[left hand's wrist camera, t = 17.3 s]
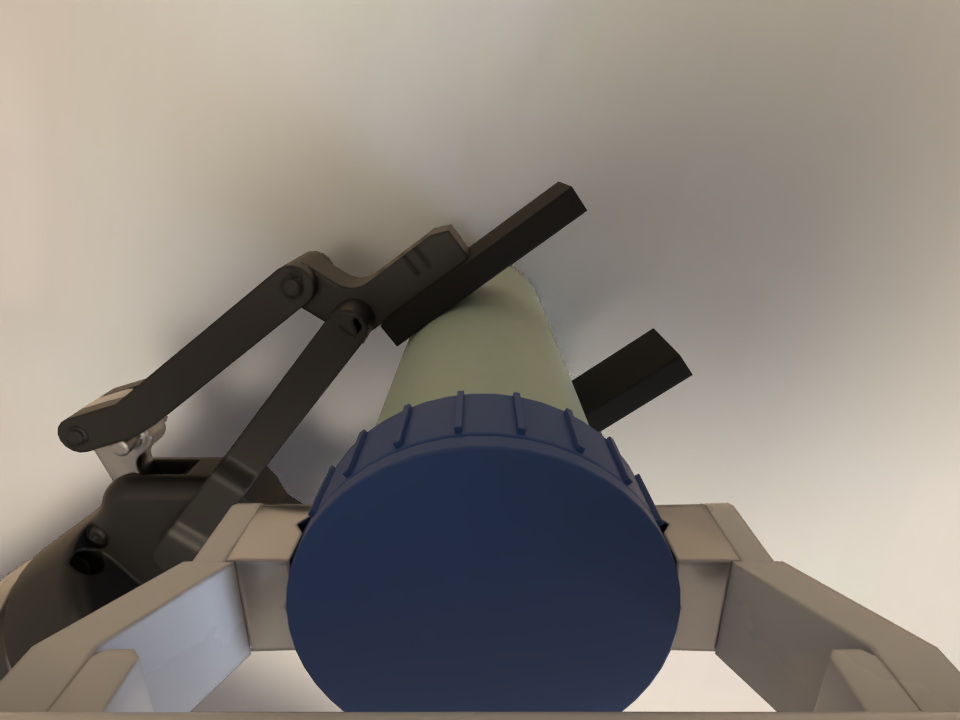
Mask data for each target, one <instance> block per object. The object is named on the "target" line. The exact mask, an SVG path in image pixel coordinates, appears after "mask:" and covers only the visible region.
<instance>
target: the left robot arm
mask: <svg viewBox="0 0 960 720" xmlns="http://www.w3.org/2000/svg"><path fill="white" fill-rule="evenodd" d="M311 506H312V504H275V503H265V504H263V503H238V504H235V505H233V506H231V508H230V509H229V510H228V512H227V513H226V515H225V516H224V517H223V519H222V520H221V522H220V523H219V524H218V526H217V527H216V529H215V530H214V531H213V533H212V534H211V536H210V537H209V539H208V540H207V541H206V543H205V544H204V546H203V547H202V548H201V550H200V551H199V553H198V554H197V555H196V557H195V558H194V560H193V561H189V562H182V563H180V564H178V565H176V566H175V567H173V568H171V569H169V570H168V571H166V572H164V573H162V574H160V575H159V576H157V577H155V578H153V579H151V580H150V581H148V582H146V583H144V584H143V585H141V586H139V587H137V588H135V589H134V590H132V591H130V592H128V593H127V594H125V595H123V596H121V597H119V598H118V599H116V600H114V601H112V602H111V603H109V604H107V605H105V606H103V607H102V608H100V609H98V610H96V611H94V612H93V613H91V614H89V615H87V616H86V617H84V618H82V619H80V620H78V621H77V622H75V623H73V624H71V625H70V626H68V627H66V628H64V629H62V630H61V631H59V632H57V633H55V634H53V635H52V636H50V637H48V638H46V639H45V640H43V641H41V642H39V643H37V644H36V645H34V646H32V647H31V648H30V649H29V650H28V651H27V653H26V654H25V655H24V656H23V657H22V658H21V659H20V660H19V661H18V662H17V664H16V665H15V666H14V667H13V668H12V669H11V670H10V671H9V672H8V673H7V675H6V676H5V677H4V678H3V679H2V680H1V681H0V720H960V672H959V671H958V670H957V668H956V667H955V666H954V665H953V664H952V663H951V662H950V661H949V660H948V659H947V658H946V657H945V655H944V654H943V653H942V652H941V651H940V650H939V649H938V648H937V647H935V646H934V645H932V644H930V643H928V642H926V641H925V640H923V639H921V638H919V637H917V636H916V635H914V634H912V633H910V632H908V631H907V630H905V629H903V628H901V627H899V626H898V625H896V624H894V623H892V622H891V621H889V620H887V619H885V618H883V617H882V616H880V615H878V614H876V613H874V612H873V611H871V610H869V609H867V608H865V607H864V606H862V605H860V604H858V603H856V602H855V601H853V600H851V599H849V598H847V597H846V596H844V595H842V594H840V593H838V592H837V591H835V590H833V589H831V588H830V587H828V586H826V585H824V584H822V583H821V582H819V581H817V580H815V579H813V578H812V577H810V576H808V575H806V574H804V573H803V572H801V571H799V570H797V569H795V568H794V567H792V566H790V565H788V564H786V563H785V562H778V561H773V559H772V558H771V556H770V555H769V554H768V552H767V551H766V550H765V548H764V547H763V546H762V544H761V543H760V541H759V540H758V539H757V537H756V536H755V535H754V533H753V532H752V530H751V529H750V528H749V526H748V525H747V524H746V522H745V521H744V520H743V518H742V517H741V515H740V514H739V513H738V511H737V510H736V509H735V507H734V506H733V505H731V504H729V503H707V504H687V505H655V507H656V509H657V511H658V513H659V515H660V517H661V519H662V521H663V523H664V525H661V526H659V527H660V529H661V532H662V534H663V536H664V538H665V540H666V542H667V544H668V546H669V548H670V551H671V554H672V556H673V559H674V562H675V565H676V568H677V573H678V578H679V584H680V602H681V610H680V616H679V623H678V629H677V633H676V636H675V639H674V642H673V645H672V648H671V650H689V651H716V652H715V654H716V655H717V656H718V657H719V658H720V659H721V660H722V661H723V662H725V663H726V664H727V665H728V666H729V667H730V668H731V669H732V670H733V671H734V672H735V673H736V674H737V675H738V676H739V677H741V678H742V679H743V680H744V681H745V682H746V683H747V684H748V685H749V686H750V687H751V688H752V689H753V690H754V691H755V692H757V693H758V694H759V695H760V696H761V697H762V698H763V699H764V700H765V701H766V702H767V703H768V704H769V705H770V706H771V707H773V708H774V709H775V710H776V711H777V712H190V711H191V710H192V709H193V708H194V707H195V706H196V705H197V704H198V703H200V702H201V701H202V700H203V699H204V698H205V697H206V696H207V695H208V694H209V693H210V692H211V691H212V690H213V689H214V688H215V687H216V686H218V685H219V684H220V683H221V682H222V681H223V680H224V679H225V678H226V677H227V676H228V675H229V674H230V673H231V672H232V671H233V670H234V669H236V668H237V667H238V666H239V665H240V664H241V663H242V662H243V661H244V660H245V659H246V658H247V657H248V656H249V655H250V654H251V653H250V651H276V650H295V647H294V644H293V640H292V637H291V634H290V631H289V626H288V619H287V612H286V587H287V582H288V577H289V571H290V567H291V564H292V561H293V559H294V555H295V553H296V551H297V548H298V546H299V543H300V541H301V539H302V537H303V535H302V533H303V531H304V529H305V527H306V524H307V522H308V521H310V520H311V517H310V516H308V513H309V511H310V508H311Z"/></svg>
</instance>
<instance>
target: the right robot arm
mask: <svg viewBox="0 0 960 720" xmlns="http://www.w3.org/2000/svg"><path fill="white" fill-rule="evenodd" d="M586 211H587V210H586V208H585V206H584V205H583V203H582V202H581V200H580V199H579V197H578V196H577V194H576V192H575V191H574V189H573V188H572V187H571V186H569V185H566V184H563V183H561V182H557V183H556V184H555V185H553V186H552V187H551V188H549V189H548V190H547V191H545V192H544V193H542V194H541V195H540V196H538V197H537V198H536V199H534V200H533V201H532V202H530V203H529V204H527V205H526V206H525V207H523V208H522V209H521V210H519V211H518V212H517V213H515V214H514V215H513V216H511V217H510V218H508V219H507V220H506V221H504V222H503V223H502V224H500V225H499V226H498V227H496V228H495V229H494V230H492V231H491V232H489V233H488V234H487V235H485V236H484V237H483V238H481V239H480V240H479V241H477V242H476V243H474V244H473V245H472V246H470V247H469V248H468V247H467V245H466V244H465V243H464V241H463V240H462V238H461V237H460V236H459V234H458V233H457V232H456V230H455V229H454V227H453V226H452V225H447V226H443V227H439V228H435V229H433V230H432V231H431V232H429V233H428V234H427V235H425V236H424V237H423V238H421V239H420V240H419V241H417V242H416V243H415V244H413V245H412V246H411V247H410V248H408V249H407V250H405V251H404V252H403V253H401V254H400V255H399V256H397V257H396V258H395V259H394V260H392V261H391V262H390V263H388V264H387V265H386V266H384V267H383V268H382V269H380V270H379V271H378V272H376V273H375V274H373V275H371V276H369V277H365V278H358V277H353V276H351V275H348V274H346V273H345V272H343V271H342V270H340V269H339V268H337V267H335V266H334V265H333V264H332V262H331V260H330V259H329V258H328V257H327V256H326V255H325V254H323V253H320V252H317V251H312V252H307V253H306V254H304V255H302V256H300V257H298V258H296V259H294V260H293V261H291V262H289V263H288V264H286V265H284V266H283V267H281V268H279V269H278V270H276V271H275V272H274V273H273V274H272V275H270V276H269V277H268V278H267V279H266V280H264V281H263V282H262V283H261V284H260V285H258V286H257V287H256V288H255V289H254V290H252V291H251V292H250V293H249V294H247V295H246V296H245V297H244V298H243V299H241V300H240V301H239V302H238V303H237V304H235V305H234V306H233V307H232V308H231V309H229V310H228V311H227V312H226V313H225V314H223V315H222V316H221V317H220V318H219V319H217V320H216V321H215V322H214V323H213V324H211V325H210V326H209V327H208V328H207V329H205V330H204V331H203V332H202V333H201V334H199V335H198V336H197V337H196V338H195V339H193V340H192V341H191V342H190V343H189V344H187V345H186V346H185V347H184V348H183V349H181V350H180V351H179V352H178V353H177V354H175V355H174V356H173V357H172V358H170V359H169V360H168V361H167V362H166V363H164V364H163V365H162V366H161V367H160V368H158V369H157V370H156V371H155V372H154V373H152V374H151V375H150V376H149V377H148V378H146V379H143V380H140V381H137V382H133V383H130V384H127V385H124V386H120V387H117V388H114V389H112V390H111V391H109V392H107V393H106V394H104V395H103V396H101V397H100V398H98V399H96V400H95V401H93V402H92V403H90V404H88V405H87V406H85V407H84V408H82V409H81V410H79V411H78V412H76V413H75V414H73V415H72V416H70V417H69V418H67V419H65V420H64V421H62V422H61V423H60V425H59V427H58V436H59V438H60V441H61V442H62V443H63V444H64V445H65V446H66V447H68V448H69V449H71V450H73V451H76V452H88V451H92V450H94V451H95V452H96V454H97V455H98V457H99V459H100V460H101V462H102V464H103V465H104V467H105V468H106V470H107V472H108V473H109V475H110V476H111V478H112V480H113V482H112V483H111V484H110V485H109V486H108V488H107V489H106V491H105V493H104V496H103V500H102V504H101V507H100V508H98V509H97V510H96V511H94V512H93V513H92V514H90V515H89V516H88V517H86V518H85V519H84V520H82V521H81V522H80V523H78V524H77V525H75V526H74V527H73V528H71V529H70V530H69V531H67V532H66V533H65V534H63V535H62V536H61V537H59V538H58V539H57V540H55V541H54V542H53V543H51V544H50V545H48V546H47V547H46V548H45V549H43V550H42V551H41V552H40V553H38V554H37V555H36V556H35V557H34V558H33V559H31V560H29V561H27V562H25V563H24V564H23V565H21V566H20V567H19V568H17V569H16V570H15V571H13V572H12V573H11V574H9V575H8V576H7V577H5V578H4V579H3V580H1V581H0V681H1V680H2V679H3V678H4V677H5V676H6V675H7V673H8V672H9V671H10V670H11V669H12V668H13V667H14V666H15V665H16V664H17V662H18V661H19V660H20V659H21V658H22V657H23V656H24V655H25V654H26V653H27V651H28V650H29V649H30V648H31V647H32V646H34V645H36V644H37V643H39V642H41V641H43V640H45V639H46V638H48V637H50V636H52V635H53V634H55V633H57V632H59V631H61V630H62V629H64V628H66V627H68V626H70V625H71V624H73V623H75V622H77V621H78V620H80V619H82V618H84V617H86V616H87V615H89V614H91V613H93V612H94V611H96V610H98V609H100V608H102V607H103V606H105V605H107V604H109V603H111V602H112V601H114V600H116V599H118V598H119V597H121V596H123V595H125V594H127V593H128V592H130V591H132V590H134V589H135V588H137V587H139V586H141V585H143V584H144V583H146V582H148V581H150V580H151V579H153V578H155V577H157V576H159V575H160V574H162V573H164V572H166V571H168V570H169V569H171V568H173V567H175V566H176V565H178V564H180V563H182V562H189V561H193V560H194V558H195V557H196V555H197V554H198V553H199V551H200V550H201V548H202V547H203V546H204V544H205V543H206V541H207V540H208V539H209V537H210V536H211V534H212V533H213V531H214V530H215V529H216V527H217V526H218V524H219V523H220V522H221V520H222V519H223V517H224V516H225V515H226V513H227V512H228V510H229V509H230V508H231V506H233V505H235V504H238V503H263V504H265V503H275V504H302V503H301V502H299V501H298V500H296V499H294V498H293V497H291V496H290V495H288V494H287V493H286V491H285V490H284V488H283V486H282V484H281V483H280V481H279V479H278V478H277V476H276V475H275V474H274V473H273V472H272V471H271V470H270V469H269V468H268V467H267V464H268V463H269V462H270V461H271V459H272V458H273V457H274V455H275V454H276V453H277V452H278V450H279V449H280V448H281V446H282V445H283V444H284V443H285V441H286V440H287V439H288V437H289V436H290V435H291V434H292V432H293V431H294V430H295V429H296V427H297V426H298V425H299V423H300V422H301V421H302V420H303V418H304V417H305V416H306V414H307V413H308V412H309V411H310V409H311V408H312V407H313V405H314V404H315V403H316V402H317V400H318V399H319V398H320V396H321V395H322V394H323V393H324V391H325V390H326V389H327V388H328V386H329V385H330V384H331V382H332V381H333V380H334V379H335V377H336V376H337V375H338V373H339V372H340V371H341V370H342V368H343V367H344V366H345V364H346V363H347V362H348V361H349V359H350V358H351V357H352V356H353V354H354V353H355V352H356V350H357V349H358V348H359V347H360V345H361V344H362V343H364V341H365V340H366V338H367V337H368V335H369V333H370V332H371V331H372V330H373V329H375V328H376V327H378V326H379V325H380V324H382V325H381V327H382V329H383V330H384V331H385V332H386V333H387V335H388V336H389V337H390V338H391V340H392V341H393V342H394V343H395V344H396V346H398V345H400V344H401V343H402V342H404V341H405V340H407V339H408V338H409V337H411V336H412V335H414V334H415V333H416V332H418V331H419V330H421V329H422V328H423V327H425V326H426V325H427V324H429V323H430V322H432V321H433V320H435V319H436V318H437V317H439V316H440V315H442V314H443V313H444V312H446V311H447V310H449V309H450V308H451V307H453V306H454V305H456V304H457V303H458V302H460V301H461V300H463V299H464V298H465V297H467V296H468V295H470V294H471V293H472V292H474V291H475V290H477V289H478V288H479V287H481V286H482V285H484V284H485V283H486V282H488V281H489V280H491V279H492V278H493V277H495V276H496V275H498V274H499V273H500V272H502V271H503V270H505V269H506V268H507V267H509V266H510V265H512V264H513V263H514V262H516V261H517V260H519V259H520V258H521V257H523V256H524V255H526V254H527V253H528V252H530V251H531V250H533V249H534V248H535V247H537V246H538V245H540V244H541V243H542V242H544V241H545V240H547V239H548V238H549V237H551V236H552V235H554V234H555V233H556V232H558V231H559V230H561V229H562V228H563V227H565V226H566V225H568V224H569V223H570V222H572V221H573V220H575V219H576V218H577V217H579V216H580V215H582V214H583V213H584V212H586ZM301 307H302V308H303V309H305V310H307V311H308V312H310V313H311V314H313V315H315V316H316V317H318V318H320V319H321V320H323V321H325V323H324V324H323V325H322V327H321V328H320V329H319V331H318V332H317V333H316V335H315V336H314V337H313V339H312V340H311V341H310V343H309V344H308V345H307V347H306V348H305V350H304V351H303V352H302V354H301V355H300V356H299V358H298V359H297V360H296V362H295V363H294V364H293V366H292V367H291V368H290V370H289V371H288V372H287V374H286V375H285V376H284V378H283V379H282V380H281V382H280V383H279V384H278V386H277V387H276V388H275V390H274V391H273V392H272V394H271V395H270V396H269V398H268V399H267V400H266V402H265V403H264V404H263V406H262V407H261V408H260V410H259V411H258V412H257V414H256V415H255V416H254V418H253V419H252V421H251V422H250V423H249V425H248V426H247V427H246V429H245V430H244V431H243V433H242V434H241V435H240V437H239V438H238V439H237V441H236V442H235V443H234V445H233V446H232V447H231V449H230V450H229V451H228V453H227V454H226V455H225V457H224V458H153V457H152V455H151V447H152V445H154V444H155V443H156V442H157V441H158V440H159V439H160V438H161V437H162V436H163V435H164V434H165V431H166V425H165V422H166V421H167V418H168V416H167V415H168V414H169V413H170V412H172V411H173V410H174V409H175V408H177V407H178V406H179V405H180V404H182V403H183V402H184V401H185V400H187V399H188V398H189V397H190V396H192V395H193V394H194V393H195V392H197V391H198V390H199V389H200V388H202V387H203V386H204V385H205V384H207V383H208V382H209V381H210V380H212V379H213V378H214V377H215V376H217V375H218V374H219V373H220V372H221V371H223V370H224V369H225V368H226V367H228V366H229V365H230V364H231V363H233V362H234V361H235V360H236V359H238V358H239V357H240V356H241V355H243V354H244V353H245V352H246V351H248V350H249V349H250V348H251V347H253V346H254V345H255V344H256V343H258V342H259V341H260V340H261V339H263V338H264V337H265V336H266V335H268V334H269V333H270V332H271V331H273V330H274V329H275V328H276V327H278V326H279V325H280V324H281V323H283V322H284V321H285V320H286V319H288V318H289V317H290V316H291V315H293V314H294V313H295V312H296V311H298V310H299V309H300V308H301ZM691 375H692V373H691V372H690V370H689V369H688V367H687V365H686V364H685V362H684V361H683V359H682V358H681V356H680V355H679V354H678V353H677V352H676V351H675V350H674V349H673V348H672V347H671V346H670V345H669V344H668V343H667V342H666V341H665V340H664V338H663V337H662V336H661V335H660V334H659V333H658V332H657V331H656V330H655V329H654V328H653V329H652V330H650V331H648V332H647V333H645V334H644V335H642V336H641V337H639V338H638V339H636V340H634V341H633V342H631V343H630V344H628V345H627V346H625V347H624V348H622V349H621V350H619V351H617V352H616V353H614V354H613V355H611V356H610V357H608V358H607V359H605V360H603V361H602V362H600V363H599V364H597V365H596V366H594V367H593V368H591V369H589V370H588V371H586V372H585V373H583V374H582V375H580V376H579V377H577V378H576V379H574V380H572V384H573V386H574V389H575V391H576V394H577V396H578V399H579V401H580V404H581V406H582V409H583V411H584V414H585V417H586V419H587V422H588V424H589V426H590V427H592V428H593V429H594V430H596V431H597V432H599V433H600V434H601V435H602V433H601V431H602V430H604V429H605V428H607V427H609V426H610V425H612V424H613V423H615V422H617V421H618V420H620V419H622V418H623V417H625V416H626V415H628V414H630V413H631V412H633V411H635V410H636V409H638V408H639V407H641V406H643V405H644V404H646V403H648V402H649V401H651V400H652V399H654V398H656V397H657V396H659V395H661V394H662V393H664V392H665V391H667V390H669V389H670V388H672V387H674V386H675V385H677V384H678V383H680V382H682V381H683V380H685V379H687V378H688V377H690V376H691Z"/></svg>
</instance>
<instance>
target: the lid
mask: <svg viewBox="0 0 960 720" xmlns="http://www.w3.org/2000/svg"><path fill="white" fill-rule="evenodd" d="M308 516H310V517H311V520H310V521H308V522H307V524H306V527H305V529H304V531H303V533H302V535H303V537H302V539H301V541H300V543H299V546H298V548H297V551H296V553H295V555H294V559H293V561H292V564H291V567H290V571H289V577H288V582H287V587H286V612H287V619H288V626H289V631H290V634H291V637H292V640H293V644H294V647H295V650H296V652H297V654H298V656H299V658H300V660H301V662H302V664H303V666H304V668H305V669H306V670H307V672H308V673H309V675H310V676H311V678H312V679H313V681H314V682H315V683H316V685H317V686H318V687H319V688H320V689H321V690H322V691H323V692H324V693H325V695H326V696H327V697H328V698H329V699H330V700H331V701H332V702H334V703H335V704H336V705H337V706H338V707H339V708H341V709H342V710H343V711H344V712H622V711H623V710H624V709H626V708H627V707H628V706H629V705H630V704H632V703H633V702H634V701H635V700H636V699H637V698H638V697H639V696H640V695H641V694H642V693H643V692H644V691H645V689H646V688H647V687H648V686H649V685H650V684H651V682H652V681H653V680H654V678H655V677H656V675H657V674H658V672H659V671H660V670H661V668H662V666H663V664H664V662H665V660H666V658H667V657H668V655H669V653H670V651H671V648H672V645H673V642H674V639H675V636H676V633H677V629H678V623H679V616H680V610H681V602H680V584H679V578H678V573H677V568H676V565H675V562H674V559H673V556H672V554H671V551H670V548H669V546H668V544H667V542H666V540H665V538H664V536H663V534H662V532H661V529H660V527H659V526H661V525H664V523H663V521H662V519H661V517H660V515H659V513H658V511H657V509H656V507H655V505H654V503H653V501H652V499H651V497H650V495H649V493H648V490H647V488H646V486H645V484H644V482H643V480H642V478H641V476H640V474H637V475H635V476H634V474H633V472H632V470H631V469H630V467H629V465H628V464H627V462H626V461H625V460H624V458H623V457H622V456H621V455H620V453H619V450H618V448H617V446H616V444H615V442H614V440H613V439H612V438H611V437H610V436H609V437H608V438H607V439H605V438H604V437H603V436H602V435H601V434H600V433H599V432H597V431H596V430H594V429H593V428H592V427H590V426H589V425H588V424H586V423H585V422H584V421H582V420H580V419H578V418H576V417H574V415H573V412H572V410H570V409H568V408H566V409H565V411H563V410H561V409H558V408H555V407H553V406H550V405H548V404H545V403H542V402H539V401H535V400H531V399H527V398H522V397H521V396H520V393H518V392H514V393H513V396H510V395H502V394H464V391H457V395H456V396H448V397H444V398H440V399H436V400H431V401H427V402H424V403H421V404H419V405H416V406H413V407H411V405H410V403H409V404H407V405H404V407H403V411H401V412H399V413H397V414H395V415H394V416H392V417H390V418H388V419H386V420H384V421H383V422H381V423H380V424H378V425H377V426H376V427H374V428H373V429H371V430H370V431H369V432H366V431H365V430H363V431H362V432H360V434H359V436H358V438H357V441H356V443H355V444H354V445H353V446H352V447H351V448H350V449H349V451H348V452H347V453H346V454H345V456H344V457H343V458H342V460H341V461H340V462H339V463H338V465H337V467H336V468H335V467H333V466H331V467H330V469H329V471H328V473H327V475H326V477H325V479H324V481H323V483H322V485H321V488H320V490H319V492H318V494H317V496H316V498H315V500H314V502H313V504H312V506H311V508H310V511H309V513H308Z"/></svg>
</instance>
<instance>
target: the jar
mask: <svg viewBox="0 0 960 720" xmlns="http://www.w3.org/2000/svg"><path fill="white" fill-rule="evenodd" d="M457 391H464V394H502V395H510V396H513V393H514V392H518V393H520V396H521V397H522V398H527V399H531V400H535V401H539V402H542V403H545V404H548V405H550V406H553V407H555V408H558V409H561V410H563V411H565V409H566V408H568V409H570V410H572V412H573V415H574V417H576V418H578V419H580V420H582V421H584V422H585V423H586V424H588V422H587V419H586V417H585V414H584V411H583V409H582V406H581V404H580V401H579V399H578V396H577V394H576V391H575V389H574V386H573V384H572V381H571V379H570V376H569V374H568V371H567V369H566V366H565V363H564V361H563V358H562V356H561V353H560V351H559V348H558V346H557V343H556V341H555V338H554V336H553V333H552V331H551V328H550V326H549V323H548V321H547V318H546V315H545V313H544V310H543V308H542V305H541V303H540V300H539V298H538V296H537V293H536V291H535V289H534V288H533V286H532V285H531V283H530V282H529V281H528V280H527V278H526V277H525V276H524V275H522V274H521V273H520V272H519V271H517V270H516V269H515V268H513V267H511V266H509V267H507V268H506V269H505V270H503V271H502V272H500V273H499V274H498V275H496V276H495V277H493V278H492V279H491V280H489V281H488V282H486V283H485V284H484V285H482V286H481V287H479V288H478V289H477V290H475V291H474V292H472V293H471V294H470V295H468V296H467V297H465V298H464V299H463V300H461V301H460V302H458V303H457V304H456V305H454V306H453V307H451V308H450V309H449V310H447V311H446V312H444V313H443V314H442V315H440V316H439V317H437V318H436V319H435V320H433V321H432V322H430V323H429V324H427V325H426V326H425V327H423V328H422V329H421V330H419V331H418V332H416V333H415V334H414V335H412V336H411V337H410V338H409V341H408V343H407V346H406V349H405V351H404V354H403V356H402V359H401V362H400V364H399V367H398V369H397V372H396V375H395V377H394V380H393V382H392V385H391V388H390V390H389V393H388V395H387V398H386V401H385V403H384V406H383V409H382V411H381V414H380V416H379V419H378V422H377V424H376V426H377V425H378V424H380V423H381V422H383V421H384V420H386V419H388V418H390V417H392V416H394V415H395V414H397V413H399V412H401V411H403V407H404V405H407V404H409V403H410V405H411V407H413V406H416V405H419V404H421V403H424V402H427V401H431V400H436V399H440V398H444V397H448V396H456V395H457ZM588 425H589V424H588Z"/></svg>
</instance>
